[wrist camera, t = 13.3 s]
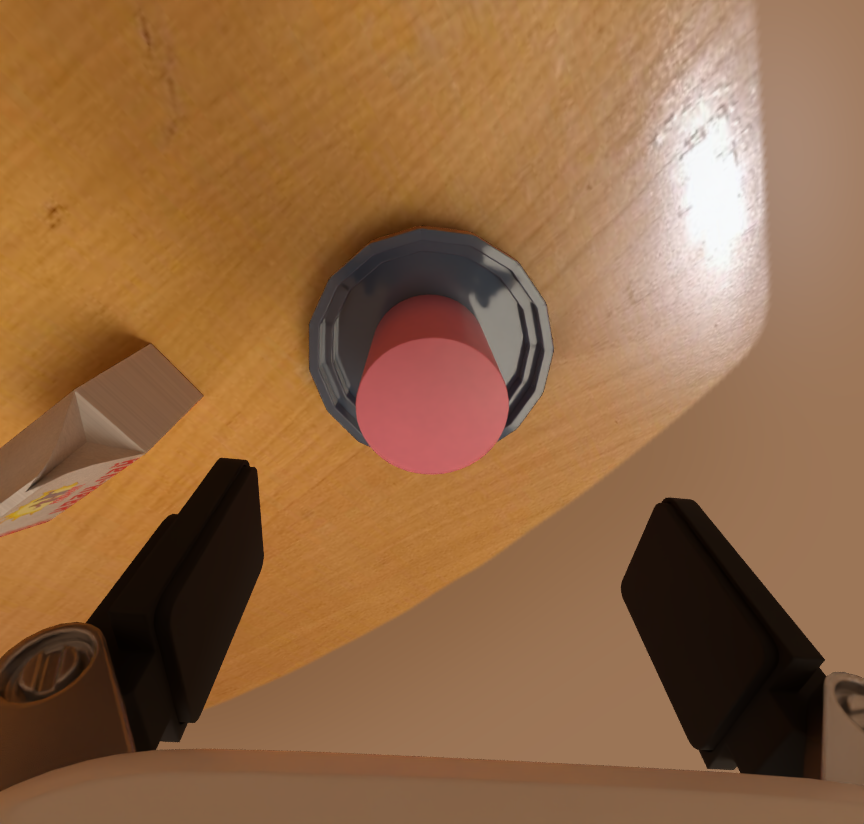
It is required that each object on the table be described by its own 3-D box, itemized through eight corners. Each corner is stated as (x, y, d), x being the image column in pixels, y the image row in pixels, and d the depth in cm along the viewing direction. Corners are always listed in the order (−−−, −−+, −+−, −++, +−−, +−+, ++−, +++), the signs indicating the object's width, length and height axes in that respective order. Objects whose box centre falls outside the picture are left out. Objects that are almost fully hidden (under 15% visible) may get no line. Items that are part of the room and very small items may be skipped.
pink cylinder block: (494, 301, 23) (523, 346, 17) (475, 407, 25) (494, 480, 19) (375, 287, 22) (359, 328, 16) (368, 397, 25) (352, 468, 19)
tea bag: (67, 408, 25) (-124, 531, 16) (150, 343, 24) (-11, 440, 15) (121, 454, 27) (-27, 590, 18) (203, 396, 25) (85, 513, 16)
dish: (567, 242, 22) (580, 248, 20) (517, 451, 27) (524, 470, 26) (317, 211, 21) (308, 214, 19) (316, 433, 26) (309, 451, 25)
